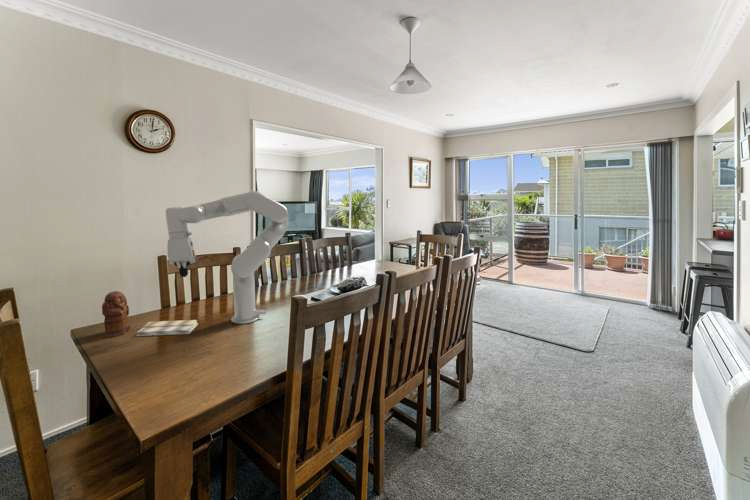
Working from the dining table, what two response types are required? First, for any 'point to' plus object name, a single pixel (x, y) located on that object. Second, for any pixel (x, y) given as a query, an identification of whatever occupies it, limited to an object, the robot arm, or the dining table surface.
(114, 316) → the wooden figurine
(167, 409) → the dining table surface
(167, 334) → the underlay
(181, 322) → the plank
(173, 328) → the laid board
